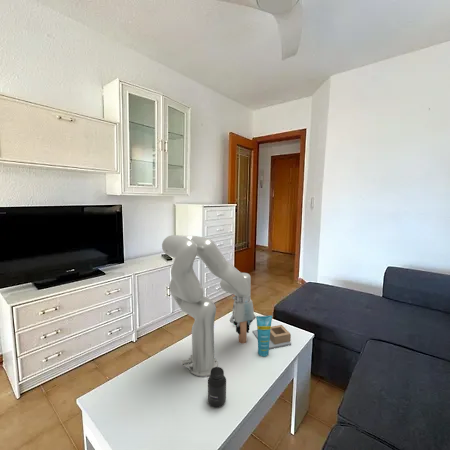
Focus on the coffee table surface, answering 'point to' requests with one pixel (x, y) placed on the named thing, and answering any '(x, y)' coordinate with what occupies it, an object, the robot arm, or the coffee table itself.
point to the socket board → (277, 337)
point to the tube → (263, 334)
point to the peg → (243, 332)
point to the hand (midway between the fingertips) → (242, 331)
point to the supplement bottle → (217, 388)
